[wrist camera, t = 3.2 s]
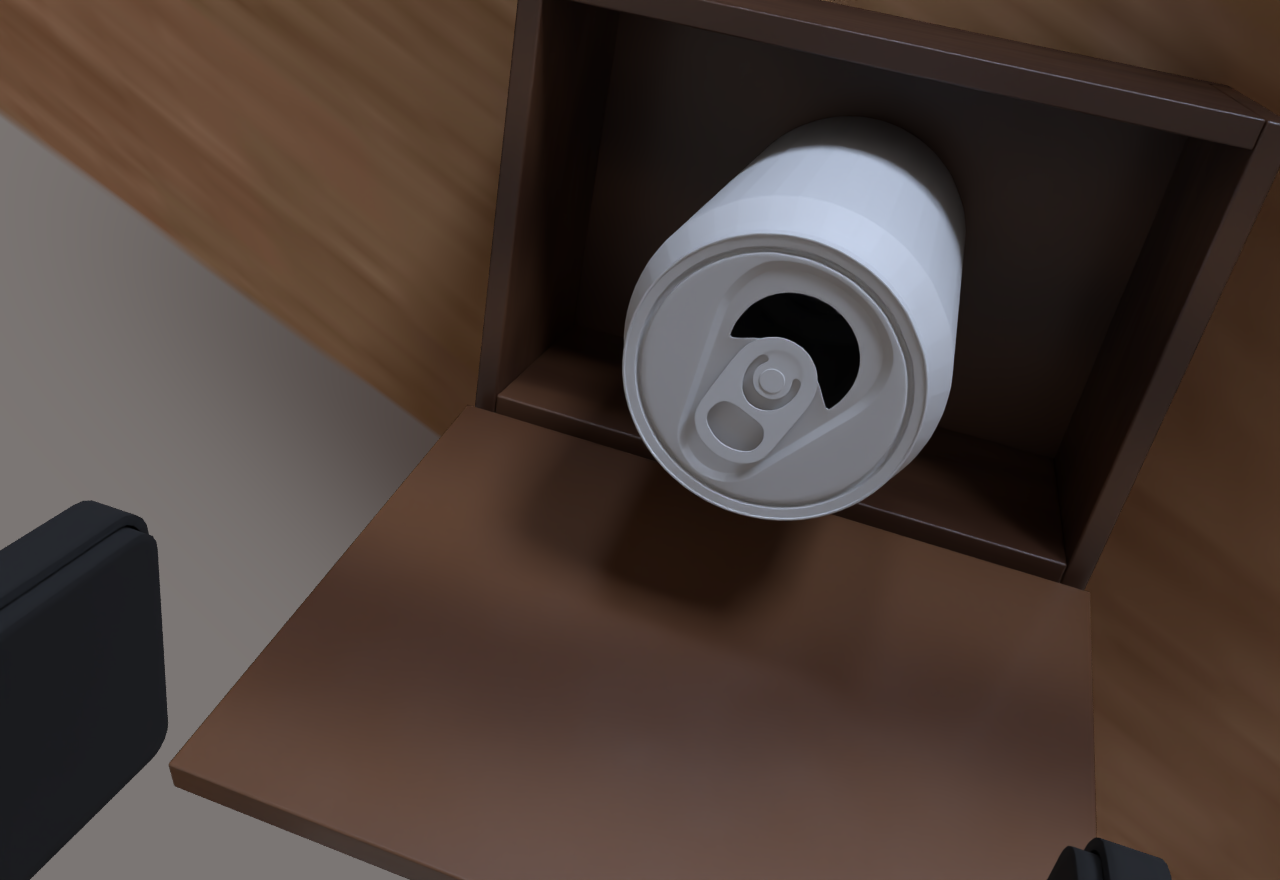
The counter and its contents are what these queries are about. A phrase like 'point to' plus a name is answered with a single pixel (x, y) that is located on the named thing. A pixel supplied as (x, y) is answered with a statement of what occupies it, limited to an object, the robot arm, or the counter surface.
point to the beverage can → (802, 323)
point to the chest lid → (657, 688)
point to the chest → (993, 254)
